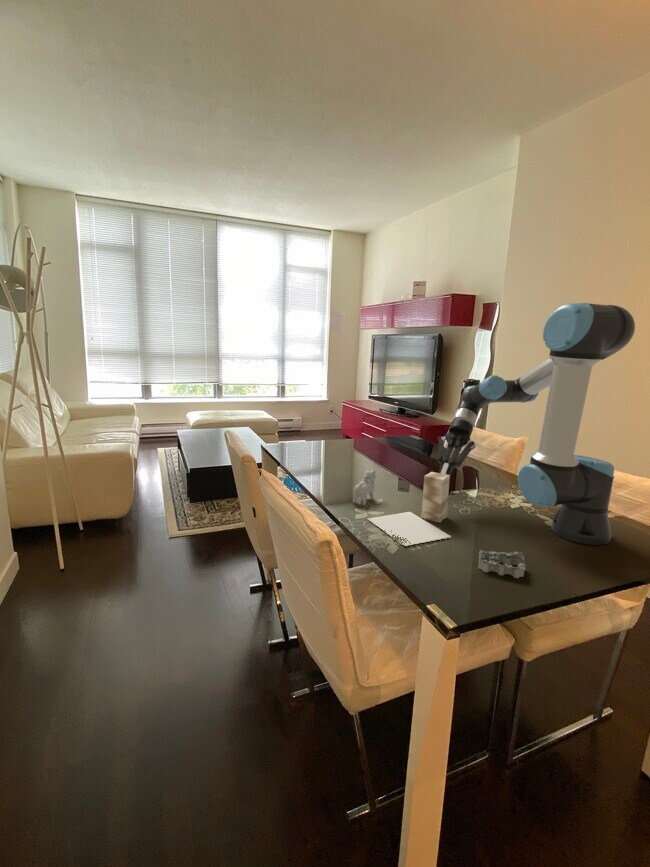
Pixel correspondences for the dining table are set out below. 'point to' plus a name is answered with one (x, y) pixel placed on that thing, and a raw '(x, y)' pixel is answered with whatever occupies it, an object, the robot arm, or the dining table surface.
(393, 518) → the mat
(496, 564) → the egg carton
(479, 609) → the dining table surface
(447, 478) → the birch block
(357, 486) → the dog figurine
